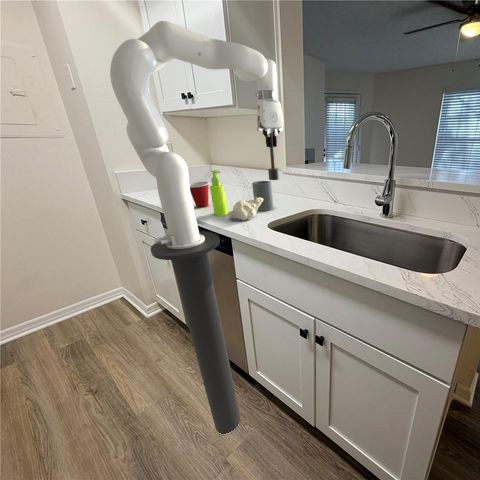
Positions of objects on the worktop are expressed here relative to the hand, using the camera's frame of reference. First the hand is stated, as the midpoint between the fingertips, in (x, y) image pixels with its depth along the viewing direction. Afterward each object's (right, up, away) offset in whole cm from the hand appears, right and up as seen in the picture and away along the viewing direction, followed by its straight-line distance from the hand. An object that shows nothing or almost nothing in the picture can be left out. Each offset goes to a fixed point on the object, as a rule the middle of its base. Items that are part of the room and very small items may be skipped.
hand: (271, 146), depth 109 cm
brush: (0, -13, +5) cm, 14 cm away
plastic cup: (-41, -22, +27) cm, 54 cm away
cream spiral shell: (-12, -29, +8) cm, 32 cm away
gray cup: (-8, -24, +21) cm, 32 cm away
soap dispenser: (-26, -27, +13) cm, 40 cm away
